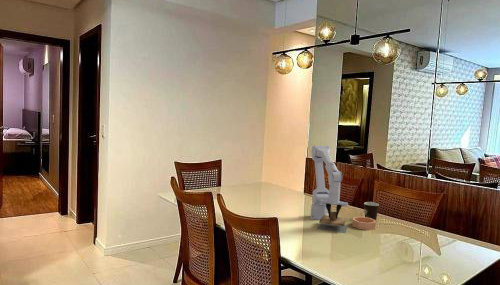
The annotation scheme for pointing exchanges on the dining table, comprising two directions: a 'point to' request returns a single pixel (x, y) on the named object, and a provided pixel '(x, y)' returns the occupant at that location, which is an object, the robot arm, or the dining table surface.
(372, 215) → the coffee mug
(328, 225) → the mat
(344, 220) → the lid
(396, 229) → the dining table surface
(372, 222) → the bowl
